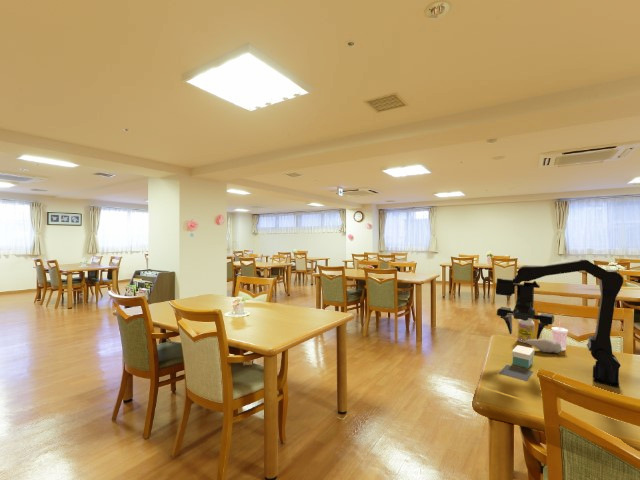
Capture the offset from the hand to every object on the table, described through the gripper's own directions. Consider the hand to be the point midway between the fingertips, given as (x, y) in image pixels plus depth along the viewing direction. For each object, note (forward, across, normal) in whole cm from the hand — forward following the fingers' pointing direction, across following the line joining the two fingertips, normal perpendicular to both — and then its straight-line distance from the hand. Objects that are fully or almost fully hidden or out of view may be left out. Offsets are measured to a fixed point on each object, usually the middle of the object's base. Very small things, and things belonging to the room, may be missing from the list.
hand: (523, 336), depth 130 cm
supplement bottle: (+12, -5, +32) cm, 34 cm away
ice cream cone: (+12, +3, +22) cm, 25 cm away
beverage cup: (+12, +8, +32) cm, 35 cm away
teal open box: (+11, 0, 0) cm, 11 cm away
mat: (+11, 0, -11) cm, 16 cm away
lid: (+7, 0, 0) cm, 7 cm away
